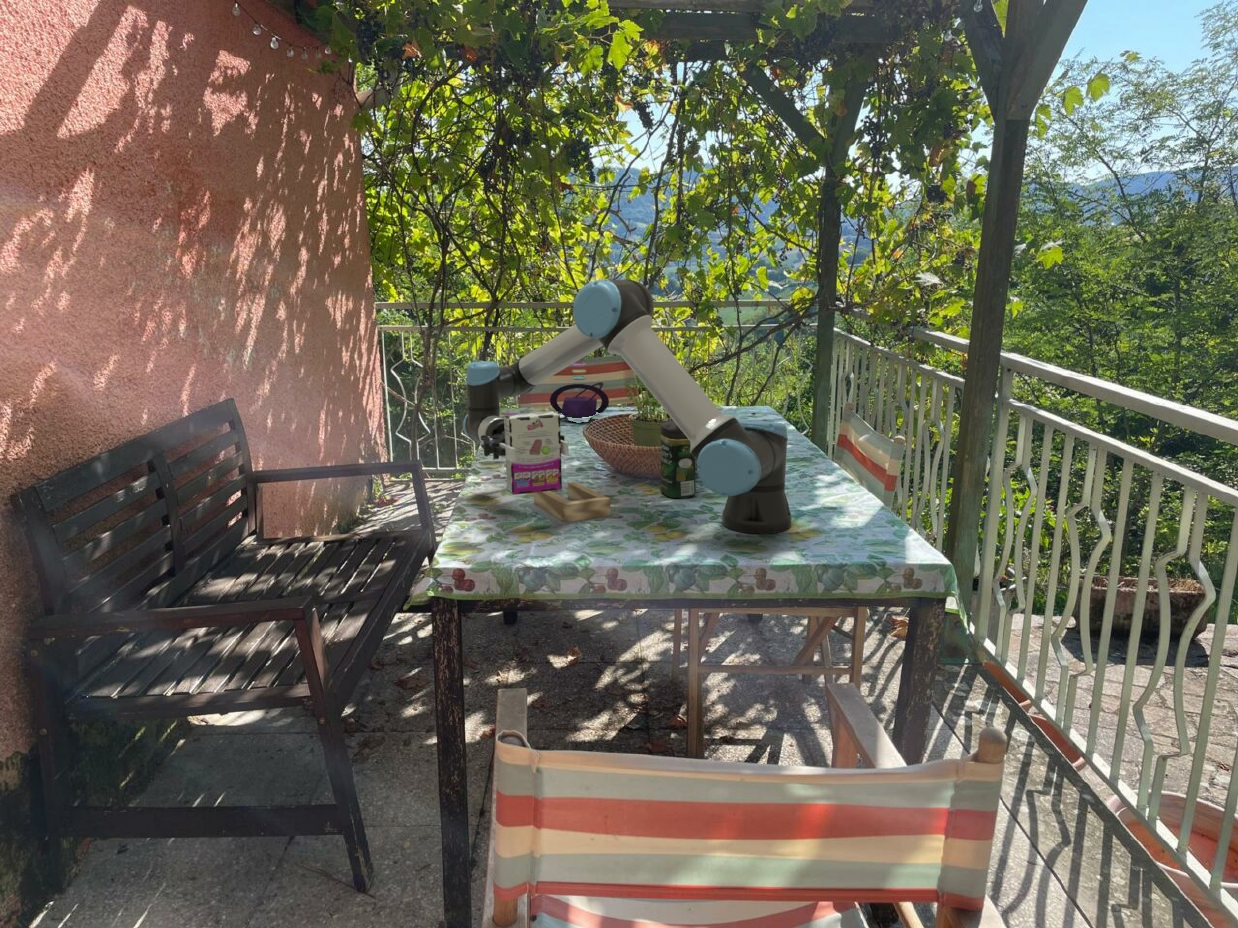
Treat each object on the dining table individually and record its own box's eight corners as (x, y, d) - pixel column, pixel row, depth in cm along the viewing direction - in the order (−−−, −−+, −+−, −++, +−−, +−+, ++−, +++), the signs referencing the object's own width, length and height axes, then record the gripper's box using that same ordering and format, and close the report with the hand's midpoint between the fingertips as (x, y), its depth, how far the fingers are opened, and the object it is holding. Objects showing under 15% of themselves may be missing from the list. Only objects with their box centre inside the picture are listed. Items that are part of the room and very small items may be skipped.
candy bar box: (555, 484, 185) (553, 410, 181) (562, 490, 180) (561, 414, 177) (505, 489, 180) (503, 414, 177) (511, 495, 176) (509, 417, 172)
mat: (582, 497, 209) (582, 495, 208) (623, 517, 192) (623, 515, 192) (522, 505, 201) (522, 504, 201) (559, 527, 184) (559, 525, 184)
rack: (575, 497, 206) (575, 482, 206) (610, 515, 192) (610, 498, 191) (534, 503, 201) (533, 487, 200) (566, 522, 186) (566, 505, 185)
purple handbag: (612, 417, 322) (612, 351, 316) (606, 427, 301) (606, 357, 296) (554, 416, 324) (553, 351, 318) (544, 426, 303) (542, 356, 298)
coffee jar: (655, 490, 215) (656, 418, 211) (684, 488, 217) (685, 417, 213) (670, 500, 206) (671, 425, 202) (699, 497, 208) (701, 423, 204)
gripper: (547, 445, 200) (591, 463, 182) (450, 456, 188) (487, 476, 170) (546, 414, 198) (591, 428, 180) (449, 423, 187) (486, 439, 168)
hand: (540, 452), depth 175 cm, fingers closed on candy bar box, 11 cm apart
